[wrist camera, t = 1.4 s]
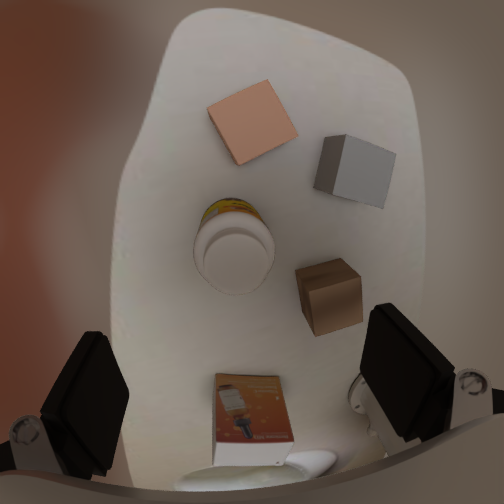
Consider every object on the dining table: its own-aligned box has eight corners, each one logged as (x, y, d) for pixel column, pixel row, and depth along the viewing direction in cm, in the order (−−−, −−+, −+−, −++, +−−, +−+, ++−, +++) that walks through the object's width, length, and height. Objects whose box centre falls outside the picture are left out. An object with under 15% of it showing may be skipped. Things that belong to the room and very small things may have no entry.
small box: (279, 375, 33) (297, 441, 23) (270, 403, 35) (284, 466, 25) (214, 372, 32) (215, 442, 22) (211, 401, 34) (212, 467, 24)
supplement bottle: (272, 226, 27) (301, 265, 17) (230, 265, 28) (236, 323, 18) (231, 183, 25) (236, 199, 16) (188, 226, 26) (170, 267, 17)
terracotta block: (284, 139, 25) (298, 136, 20) (235, 164, 25) (239, 165, 20) (258, 93, 23) (267, 79, 18) (209, 117, 23) (206, 107, 19)
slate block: (357, 199, 27) (383, 209, 22) (313, 187, 26) (332, 194, 22) (369, 152, 26) (396, 153, 21) (324, 137, 25) (346, 134, 20)
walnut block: (344, 298, 31) (363, 321, 26) (302, 311, 30) (315, 336, 26) (340, 257, 29) (360, 276, 24) (295, 269, 29) (308, 291, 24)
